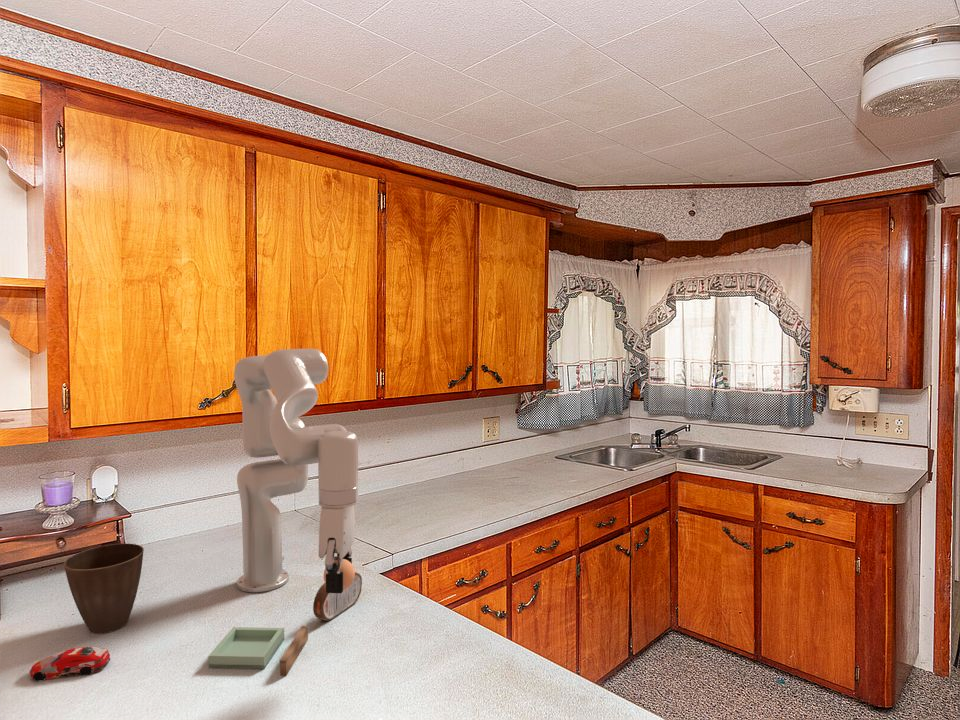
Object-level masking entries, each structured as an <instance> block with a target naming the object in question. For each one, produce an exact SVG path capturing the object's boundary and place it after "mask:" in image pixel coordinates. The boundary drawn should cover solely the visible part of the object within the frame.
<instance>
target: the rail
mask: <svg viewBox="0 0 960 720" xmlns="http://www.w3.org/2000/svg"><path fill="white" fill-rule="evenodd" d="M308 641H309V627H308V625H302V626H301V627H300V629H299V630H298V631H297V634H296V635H295V637H294V638H293V639H292V641H291V643H290V644H289V646H288V647H287V649H286V651H285V652H284V654H283V655H282V657H281V658H280V660H279V676H280V677H281V676H283V677H285V676H286V677H287V676H288V674H289V672H290V670H291V669H292V668H293V665H295V662H296V661H297V659H298V657H299V656H300V654H301V652H302V650H303V649H304V648H305V645H306V644H307V643H308Z"/></svg>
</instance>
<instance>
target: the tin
mask: <svg viewBox="0 0 960 720" xmlns="http://www.w3.org/2000/svg"><path fill="white" fill-rule="evenodd" d="M362 581H363V578H362V576H361V574H360V573H359V572H356V571H355V577H354V580H353V582H352V584H351V585H350V586H349V587H348V588H346V589H344V590H343V592H342V593H327V592H326V583H325V582H324V583H323V584H322V585H321V586H320V587H319V589H318V590H317V592H316V594H315V596H314V601H313V603H312V604H313V605H312V611H313V615H314V616H315V617H316V619H321V620H323V621H331V620H333V619H335V618H336V617H338V616H339V615H341V614H342V613H344V612H345V611H347V610H348V609H350V608H352V607H353V606H354V605H355V604H356V603H357V601H358V600H359V598H360V596H361V593H362V586H363V584H362V583H363V582H362Z"/></svg>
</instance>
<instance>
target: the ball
mask: <svg viewBox="0 0 960 720" xmlns="http://www.w3.org/2000/svg"><path fill="white" fill-rule="evenodd" d="M334 563H336V564H337V566H338V560H334ZM341 572H343V590H344V589H346V588H348V587H349V586H350V585H351V584H352V582H353V580H354V577H355V572H356V571H355V568H354V565H353V563H352V564H351V563H350V562H349V561H348V560H346V559H342V569H341ZM323 580H324V583H326V568H325V567H324V571H323Z"/></svg>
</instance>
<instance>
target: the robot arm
mask: <svg viewBox="0 0 960 720" xmlns="http://www.w3.org/2000/svg"><path fill="white" fill-rule="evenodd" d="M329 370H330V369H329V363H328V360H327V357H326V355H325V354H324V353H323V352H322V351H321V350H319V349H318V348H287V349H286V348H284V349H278V350H274V351H272V352H269V354H267V355H253V356H246V357H243V358H241V359H239V360H238V361H237V363H236V364H235V367H234V371H233V372H234V373H233V375H234V383H235V386H236V390H237V392H238V395H239V398H240V401H241V402H240V403H241V408H242V409H241V410H242V417H241V418H242V445H243V451H244V453H245V454H246V455H247V456H248V457H251V458H260V459H261V458H269V457H273V456H274V457H275V456H276V457H277V456H278V457H279V459H271V460H270V459H269V460H263V461H262V460H261V461H256V462H251V463H248V464H245V465H244V466H242V467H241V468H240V470H239V471H238V472H237V475H236V484H237V489H238V494H239V500H240V507H241V526H242V527H241V529H242V532H241V533H242V534H241V535H242V562H243V566H242V569H243V574H242V575H241V576H239V578H238V579H237V581H236V582H237V583H236V586H237V588H238V589H239V590H241V591H243V592H248V593H263V592H264V593H265V592H268V591H273V590H275V589H277V588H280V587H282V586H284V585H286V584H287V583H288V581H289V580H290V574H289V572H288V571H287V570H285V569H283V561H284V560H285V556H284V555H283V547H282V546H283V543H282V542H283V539H282V538H283V537H282V513H281V510H280V509H279V508H278V506H276V504H274V503H273V502H272V499H273V498H277V497H282V496H288V495H292V494H297V493H300V492H303V491H304V490H305V489H306V487H307V485H308V480H309V465H312V464H318V466H317V467H318V468H317V469H318V478H317V479H318V505H319V506H320V507H321V509H320V516H319V527H318V530H319V531H318V558H320V559H323V558H324V559H325V560H324V566H325V567H324V569H325V568H326V592H327V593H342V592H343V572H341V569H342V559H346V560H348V561H349V562H350V563H351V564H352V565H353V560H352V559H353V557H352V553H353V552H352V550H353V549H352V546H353V544H354V542H355V537H356V535H355V534H356V517H355V516H356V515H355V505H357V504H358V503H359V442H358V440H359V439H358V437H357V435H356V433H355V432H352V431H349V430H347V429H346V428H345V427H344V426H343V425H341V424H337V423H335V424H334V423H330V424H320V425H319V424H318V425H317V424H316V425H311V426H306V425H305V423H304V421H303V420H301V418H300V417H301V416H303V415H305V414H306V413H308V412H309V411H310V410H311V409H313V407H314V406H315V405H316V403H317V401H318V398H319V391H318V389H317V387H316V386H317V385H320V384H322V383H323V382H325V381H326V380H327V377H328V375H329ZM335 554H336V555H335ZM334 560H338V566H337V564H336V563H334Z"/></svg>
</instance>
